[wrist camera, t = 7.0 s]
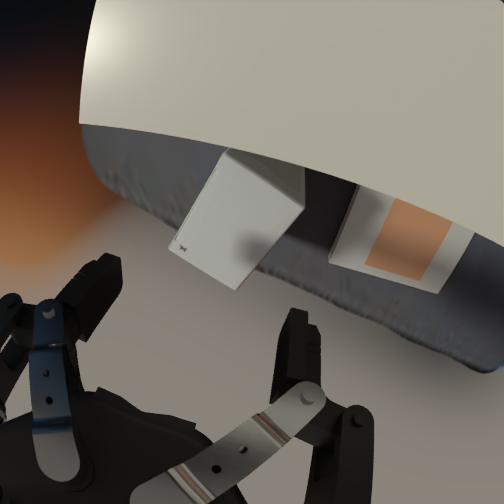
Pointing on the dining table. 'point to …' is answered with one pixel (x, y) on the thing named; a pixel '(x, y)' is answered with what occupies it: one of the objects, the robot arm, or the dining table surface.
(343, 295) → the dining table surface
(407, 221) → the pad
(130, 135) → the dining table surface
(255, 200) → the small box
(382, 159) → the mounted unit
